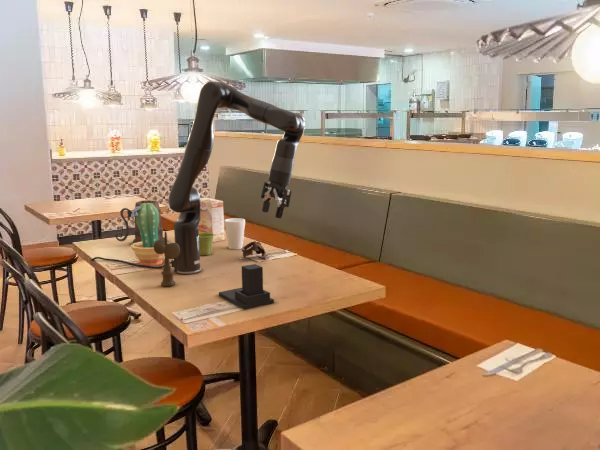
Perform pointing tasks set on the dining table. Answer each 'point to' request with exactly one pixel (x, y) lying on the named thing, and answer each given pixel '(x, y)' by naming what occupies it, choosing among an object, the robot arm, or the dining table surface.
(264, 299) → the base pad
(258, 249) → the brown curved piece
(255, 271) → the post
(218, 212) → the coffeecake box
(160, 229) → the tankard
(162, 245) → the kendama
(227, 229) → the foam cup
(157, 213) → the potted cactus
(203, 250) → the plant pot
